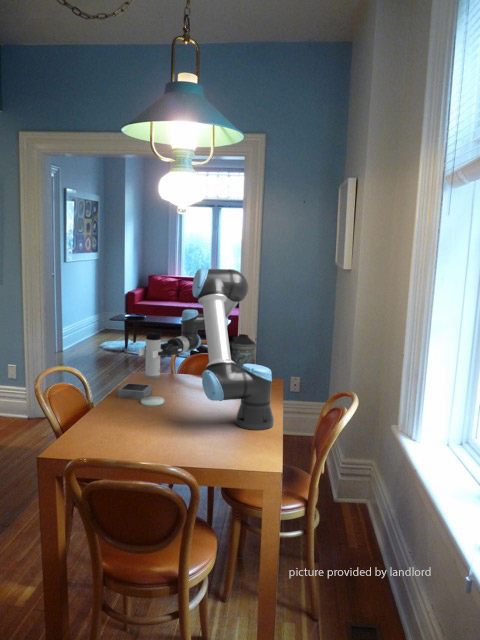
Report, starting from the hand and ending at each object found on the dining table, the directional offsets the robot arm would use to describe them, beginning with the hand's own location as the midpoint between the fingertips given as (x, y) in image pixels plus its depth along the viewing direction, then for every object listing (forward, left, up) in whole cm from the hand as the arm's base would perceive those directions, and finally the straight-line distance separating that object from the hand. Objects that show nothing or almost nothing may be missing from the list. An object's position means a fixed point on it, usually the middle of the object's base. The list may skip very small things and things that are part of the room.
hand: (145, 353), depth 212 cm
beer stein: (+48, -34, -23) cm, 63 cm away
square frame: (+14, +9, -22) cm, 28 cm away
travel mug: (+5, -2, -11) cm, 12 cm away
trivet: (+5, -2, -22) cm, 23 cm away
